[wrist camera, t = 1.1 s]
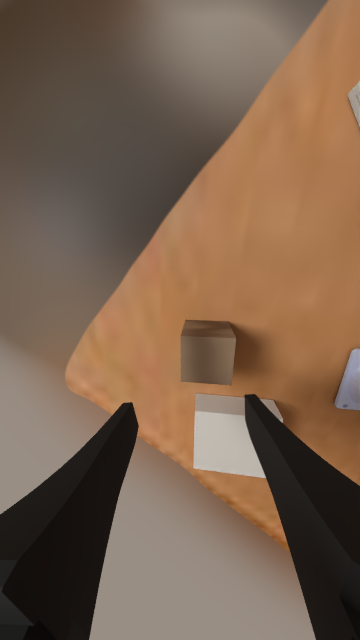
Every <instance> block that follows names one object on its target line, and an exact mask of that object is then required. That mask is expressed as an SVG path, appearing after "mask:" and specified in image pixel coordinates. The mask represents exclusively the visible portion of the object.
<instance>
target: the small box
mask: <svg viewBox="0 0 360 640" xmlns="http://www.w3.org/2000/svg"><path fill="white" fill-rule="evenodd" d="M348 98H349V100H350V103H351V106H352V109H353V111H354V114H355V117H356V119H357V122H358V124H359V127H360V81H359V82H358V83H357V85H356V86H355V87H354V88H353V89H352V90H351V91H350V92H349V94H348Z"/></svg>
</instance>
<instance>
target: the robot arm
mask: <svg viewBox="0 0 360 640" xmlns="http://www.w3.org/2000/svg"><path fill="white" fill-rule="evenodd" d="M334 405H335V406H336V407H337V408H339V409H350V410H360V348H356V349H354V350H352V352H351V355H350V358H349V361H348V364H347V367H346V370H345V373H344V376H343V379H342V382H341V385H340V388H339V391H338V394H337V397H336V400H335V403H334ZM245 422H246V425H247V429H248V432H249V436H250V439H251V441H252V444H253V446H254V449H255V452H256V454H257V457H258V459H259V462H260V464H261V467H262V469H263V472H264V474H265V476H266V479H267V481H268V484H269V487H270V489H271V492H272V495H273V498H274V501H275V504H276V507H277V510H278V514H279V517H280V520H281V523H282V526H283V529H284V533H285V536H286V539H287V542H288V546H289V549H290V552H291V555H292V558H293V562H294V565H295V569H296V572H297V575H298V579H299V582H300V585H301V589H302V592H303V596H304V599H305V603H306V606H307V610H308V613H309V617H310V620H311V624H312V627H313V631H314V634H315V638H316V640H360V486H359V485H357V484H356V483H355V482H353V481H352V480H351V479H349V478H348V477H346V476H345V475H344V474H342V473H341V472H340V471H338V470H337V469H335V468H334V467H333V466H332V465H330V464H329V463H328V462H326V461H325V460H324V459H323V458H321V457H320V456H319V455H318V454H316V453H315V452H314V451H313V450H312V449H310V448H309V447H308V446H307V445H306V444H305V443H303V442H302V441H301V440H300V439H299V438H298V437H297V436H296V435H295V434H293V433H292V432H291V431H290V430H289V429H288V428H287V427H286V426H285V425H284V424H283V423H282V422H281V421H280V420H279V419H278V418H277V417H276V416H275V415H274V414H273V413H272V412H271V411H270V410H269V409H268V408H267V407H266V406H265V404H264V403H263V402H262V401H261V400H260V399H259V398H258V397H257V396H256V395H255V394H249V395H245ZM138 427H139V425H138V422H137V418H136V414H135V411H134V407H133V403H132V402H130V403H123V404H122V405H121V406H120V407H119V408H118V410H117V411H116V412H115V413H114V414H113V415H112V416H111V418H110V419H109V420H108V421H107V422H106V423H105V424H104V425H103V426H102V428H101V429H100V430H99V431H98V432H97V433H96V434H95V435H94V436H93V437H92V438H91V439H90V440H89V441H88V442H87V443H86V444H85V446H84V447H82V448H81V449H80V451H78V452H77V453H76V454H75V455H74V456H73V457H72V458H71V459H70V460H69V461H68V462H67V463H65V464H64V465H63V466H62V467H61V468H60V469H59V470H58V471H56V472H55V473H54V474H53V475H51V476H50V477H49V478H48V479H47V480H45V481H44V482H43V483H42V484H41V485H39V486H38V487H37V488H36V489H34V490H33V491H32V492H30V493H29V494H28V495H27V496H25V497H24V498H22V499H21V500H20V501H18V502H17V503H16V504H14V505H13V506H12V507H10V508H9V509H7V510H6V511H5V512H4V513H2V514H0V640H89V636H90V631H91V625H92V620H93V614H94V609H95V604H96V599H97V593H98V588H99V582H100V577H101V572H102V567H103V563H104V558H105V553H106V548H107V543H108V539H109V534H110V530H111V526H112V521H113V517H114V513H115V509H116V504H117V500H118V497H119V493H120V490H121V486H122V483H123V480H124V477H125V474H126V471H127V468H128V464H129V461H130V458H131V455H132V452H133V449H134V446H135V442H136V437H137V432H138Z"/></svg>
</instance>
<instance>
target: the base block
mask: <svg viewBox="0 0 360 640" xmlns="http://www.w3.org/2000/svg"><path fill="white" fill-rule="evenodd" d="M260 400H261V401H262V402H263V403H264V404H265V406H266V407H267V408H268V409H269V410H270V411H271V412H272V413H273V414H274V415H275V416H276V417H277V418H278V419H279V420H280V421H281V422H282V423H283V418H282V416H281V414H280V412H279V410H278V408H277V407H276V405H275V403H274V401H273V400H269V399H260ZM194 468H195V469H202V470H210V471H217V472H225V473H232V474H239V475H247V476H254V477H262V478H266V476H265V474H264V472H263V469H262V467H261V464H260V462H259V459H258V457H257V454H256V452H255V449H254V446H253V444H252V441H251V439H250V436H249V432H248V429H247V425H246V422H245V397H233V396H221V395H209V394H197V393H196V403H195V433H194Z"/></svg>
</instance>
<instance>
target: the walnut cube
mask: <svg viewBox="0 0 360 640" xmlns="http://www.w3.org/2000/svg"><path fill="white" fill-rule="evenodd" d="M235 346H236V337H235V335H234V333H233V330H232V328H231V326H230V324H229V322H228V321H200V320H185V324H184V327H183V330H182V334H181V382H194V383H208V384H221V385H231V384H232V375H233V365H234V356H235Z"/></svg>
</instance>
